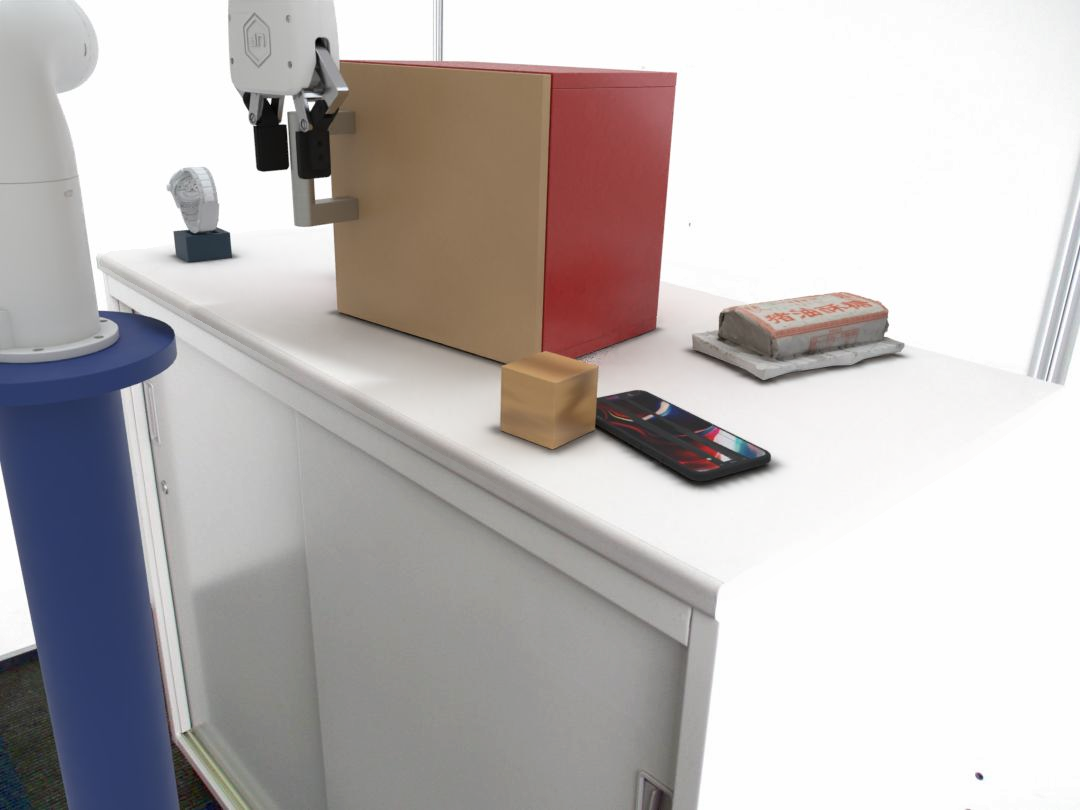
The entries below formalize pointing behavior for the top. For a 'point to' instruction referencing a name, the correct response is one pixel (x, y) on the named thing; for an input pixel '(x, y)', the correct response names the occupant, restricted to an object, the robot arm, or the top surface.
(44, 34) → the robot arm
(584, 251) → the cabinet
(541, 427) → the oak block
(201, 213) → the watch
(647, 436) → the smartphone
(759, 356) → the packaged product
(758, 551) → the top surface
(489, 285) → the cabinet door
